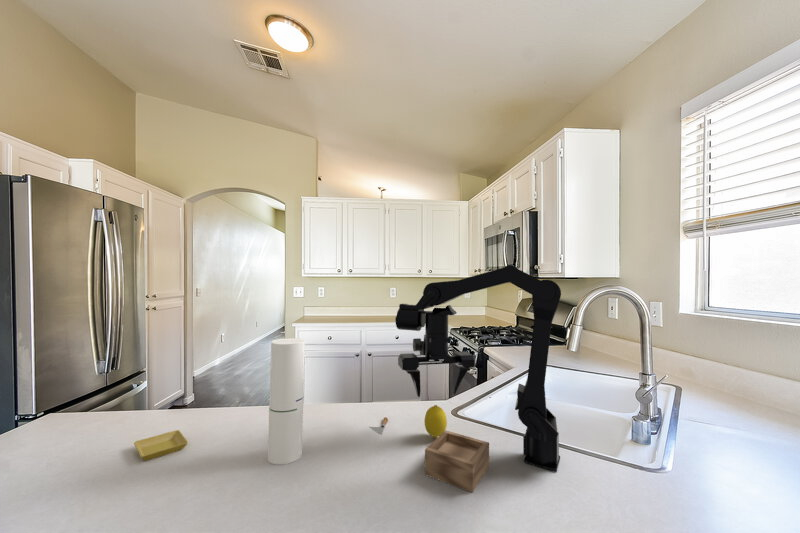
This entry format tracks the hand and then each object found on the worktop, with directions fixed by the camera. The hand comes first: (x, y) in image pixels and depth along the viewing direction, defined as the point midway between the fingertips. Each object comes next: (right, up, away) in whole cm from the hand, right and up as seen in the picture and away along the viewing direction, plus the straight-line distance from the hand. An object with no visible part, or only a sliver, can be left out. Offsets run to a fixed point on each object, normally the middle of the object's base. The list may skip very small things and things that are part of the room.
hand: (436, 395), depth 81 cm
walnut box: (+3, -10, -14) cm, 18 cm away
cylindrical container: (-34, -10, -10) cm, 37 cm away
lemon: (0, -11, 0) cm, 11 cm away
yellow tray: (-63, -10, -8) cm, 64 cm away
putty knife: (-16, -11, +3) cm, 19 cm away
